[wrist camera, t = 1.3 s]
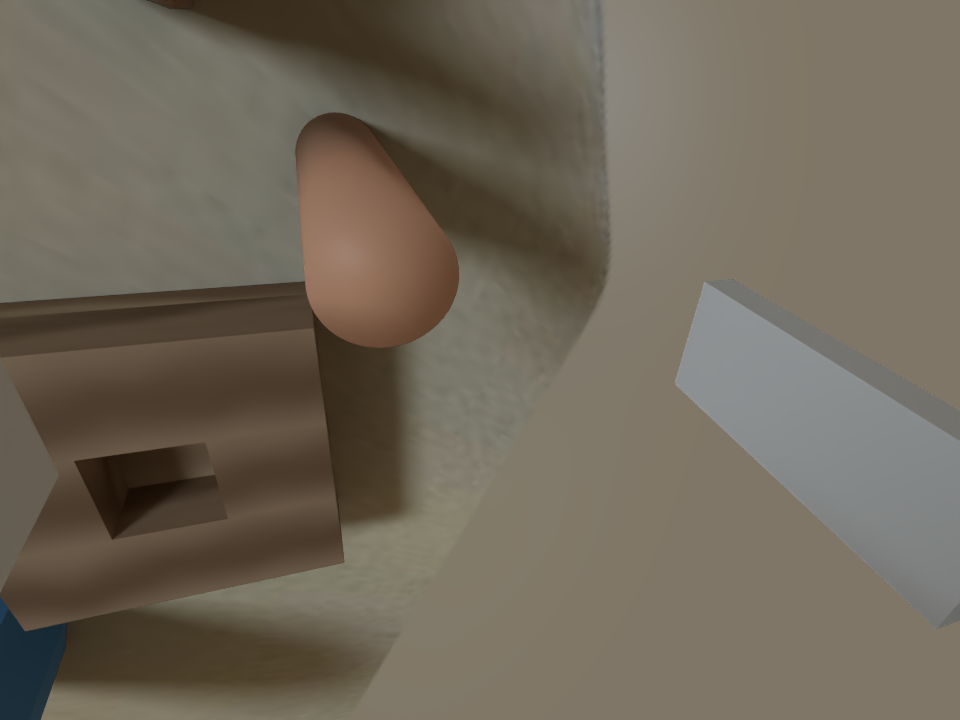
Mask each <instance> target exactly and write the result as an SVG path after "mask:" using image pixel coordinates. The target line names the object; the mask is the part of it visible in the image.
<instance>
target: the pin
mask: <svg viewBox="0 0 960 720" xmlns="http://www.w3.org/2000/svg"><path fill="white" fill-rule="evenodd" d="M295 153H296V167H297V180H298V194H299V207H300V220H301V233H302V246H303V259H304V272H305V286H306V292H307V297H308V300H309V302H310V305H311V307H312V309H313V311H314V313H315V315H316V316H317V317H318V319H319V320H320V321H321V323H322V324H323V325H324V326H325V327H326V328H327V329H328V330H330V331H331V332H332V333H334V334H335V335H337V336H338V337H340V338H342V339H343V340H346V341H348V342H350V343H353V344H356V345H360V346H365V347H372V348H388V347H394V346H399V345H403V344H406V343H409V342H411V341H414V340H416V339H418V338H420V337H422V336H423V335H425V334H426V333H428V332H429V331H431V330H432V329H433V328H434V327H435V326H436V325H437V324H438V323H439V322H440V321H441V320H442V319H443V318H444V316H445V315H446V314H447V312H448V311H449V309H450V307H451V305H452V303H453V301H454V298H455V296H456V293H457V288H458V282H459V266H458V260H457V257H456V254H455V250H454V248H453V246H452V244H451V242H450V241H449V239H448V238H447V236H446V235H445V233H444V232H443V230H442V229H441V228H440V226H439V225H438V224H437V222H436V221H435V219H434V218H433V217H432V215H431V214H430V212H429V211H428V210H427V208H426V207H425V205H424V204H423V203H422V201H421V200H420V198H419V197H418V196H417V194H416V193H415V192H414V190H413V189H412V187H411V186H410V185H409V183H408V182H407V180H406V179H405V178H404V176H403V175H402V173H401V172H400V171H399V169H398V168H397V166H396V165H395V164H394V162H393V161H392V160H391V158H390V157H389V155H388V154H387V153H386V151H385V150H384V148H383V147H382V146H381V144H380V143H379V141H378V140H377V139H376V137H375V136H374V134H373V133H372V132H371V130H370V129H369V128H368V127H367V126H366V125H365V124H364V123H363V122H361V121H360V120H358V119H357V118H355V117H353V116H350V115H347V114H343V113H326V114H323V115H320V116H317V117H316V118H314V119H312V120H311V121H310V122H308V123H307V124H306V125H305V127H304V128H303V129H302V131H301V133H300V135H299V137H298V140H297V144H296V152H295Z"/></svg>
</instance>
